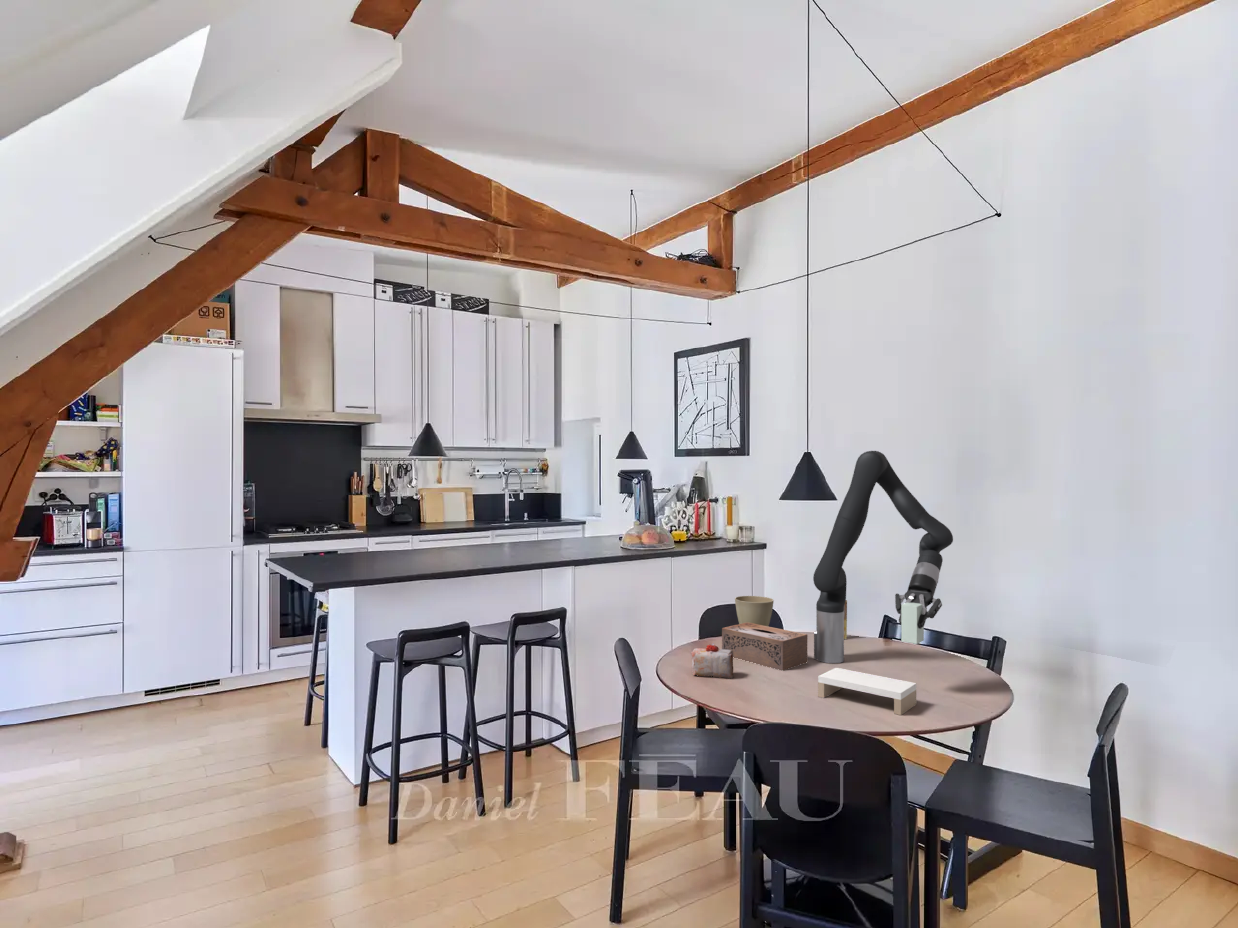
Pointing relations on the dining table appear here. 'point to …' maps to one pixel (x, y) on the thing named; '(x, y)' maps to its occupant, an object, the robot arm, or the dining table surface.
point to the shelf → (869, 687)
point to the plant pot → (754, 609)
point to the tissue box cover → (765, 645)
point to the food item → (712, 662)
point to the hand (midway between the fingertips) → (910, 625)
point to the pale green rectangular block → (911, 623)
